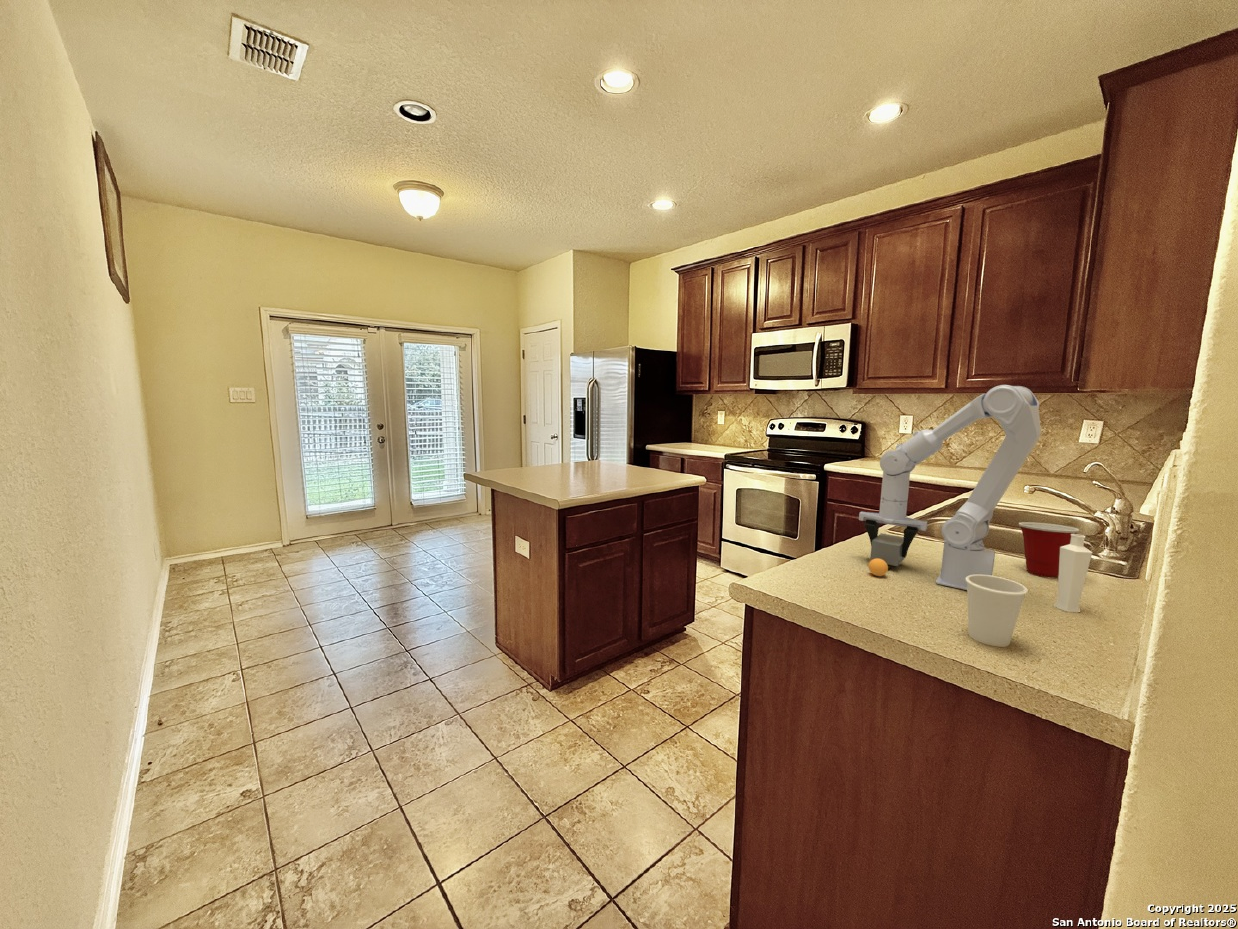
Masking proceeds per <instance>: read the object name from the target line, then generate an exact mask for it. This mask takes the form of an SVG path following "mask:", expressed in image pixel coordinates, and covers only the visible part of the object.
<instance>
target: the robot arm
mask: <svg viewBox="0 0 1238 929" xmlns="http://www.w3.org/2000/svg"><path fill="white" fill-rule="evenodd" d="M1039 410H1040V402H1039V400H1038V399H1037V397H1036V396H1035V395H1034V393H1033V391H1031V389H1029V388H1028V387H1025V386H1021V385H1009V384H1000V385H997V386H994V387H992V388H990V389H989V390H988V391H987V392H986V393H982V394H981V395H978V396H976V397H975V398H974V399H973V400H971V401H969V403H967V404H966V405H964V406H963V407H961V408H960V409H959V410H957V411H956V412H955V413H953V414H952V415H951V416H949V417H948V418H946V419H945V420H944V421H943V422H941V423H939V425H938V426H936V427H935V428H934V429H922V430H915V431H914V432H913V433H912V435H913V436H912V437H910V438H909V439H907V440H906V441H904V442H903V443H898V444H897V445H896V446H895V448H896V449H895V450H893V449H891V450H888V451H885V452H884V454H883V455H881V457H880V459H879V467H880V469H881V470H882V471H883V472H882V481H881V492H880V503H879V512H869V511H867V512H866V511H860V512H859V514H858V520H859V521H862V522H863V521H865V523H864V529H865V530H866V533H867V534H868V538H869V542H870V547H871V546H872V540H874V539H875V538H876V537H877V536H878V535H879V529H880V525H881V524H884V525H892V526H897V527H903V528H904V529H903V537H904V541H903V549H902V557H907V556H908V553H909V552H908V551H909V548H910V546H911V544H912V542H913V540H914V539H915V537H916V535H917V534H918V532H919V531H924V532H926V531H927V529H928V528H927V527H928V521H927V520H921V519H916V518H911V517H908V516H907V511H908V510H907V509H908V499H909V489H910V480H911V479H910V478H911V472H912V471H913V470H915V468H916V465H919V464H920V463H922V462H924V461H925V460H926V459H928V458H930V457H931V456H932V455H935V454H936V453H937V452H939V451H941V450H942V448H943V444H944V441H946V439H948V438H950V437H952V436H954V435H955V434H957V433H959V431H962V430H963V429H965V428H967V427H968V426H970V425H972V424H973V423H975V422H977V421H979V420H984V419H990V418H994V419H995V420H996V421H997V422H998V423H999V425H1000V427H1001V428H1002V431H1003V433H1004V434H1005V438H1004V439H1003V441H1002V442H1001V444H1000V446H999V447H998V449H997V450H996V452H995V454H994V456H993V457H992V458H991V461H990V462H989V464H988V466H987V467H986V468H985V470H984V472H983V474H982V475H981V477H980V479H979V480H978V482H977V483H976V485H975V486H974V489H973V490H972V491H971V493H970V495H969V497H968V498H967V500H966V501H965V503H964V504H963V505H961V507H960V508H959V509H957V511H956V512H955V514H954V515H953V517H951V518H949V519H947V520H946V521H945V522H944V523H943V524H942V526H941V535H942V537H943V539H944V540H943V541H944V542H943V548H942V557H941V558H942V559H941V560H942V561H941V567H940V569H941V570H940V573H939V575H938V577H937V579H936V580H935V583H936V584H937V585H942V586H944V587H945V586H946V587H951V588H955V589H960V590H964V591H967V581H966V577H967V576H969V575H976V574H980V575H991V576H993V572H994V565H995V557H996V556H995V555H996V551H995V550H992V549H987V548H986V547H985V544H984V542H983V539H985V538H986V537H987V536H988V534H989V532H990V523H991V520H992V519H993V516H994V510H995V509H996V507H997V505H998V504H999V502H1000V501H1001V499H1002V497H1003V496H1004V494H1005V493H1006V491H1007V489H1008V488H1009V487H1010V485H1011V484H1012V482H1013V480H1014V479H1015V477H1016V476H1017V474H1018V473H1019V471H1020V470H1021V468H1022V467H1023V465H1024V463H1025V462H1026V460H1027V459H1028V457H1029V456H1030V454H1031V452H1032V451H1033V450H1034V448H1035V446H1036V445H1037V443H1038V441H1039V440H1040V439H1041V436H1042V427H1041V426H1042V425H1041V420H1040V412H1039Z"/></svg>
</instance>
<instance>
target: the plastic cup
mask: <svg viewBox="0 0 1238 929" xmlns="http://www.w3.org/2000/svg"><path fill="white" fill-rule="evenodd" d="M1018 526H1019V527H1020V529H1021V532H1022V537H1023V538H1022V539H1023V547H1024V548H1023V549H1024V558H1025V568H1026V572H1027V571H1028V572H1027V573H1029V574H1031V575H1034V576H1037V577H1042V578H1048V577H1056V578H1059V559H1060V547H1062V546H1065V545H1068V544H1070V542H1071V534H1078V533H1079V532H1080V528H1077V527H1074V526H1068V525H1061V524H1054V523H1045V522H1032V521H1031V522H1030V521H1028V522H1027V521H1026V522H1025V521H1021V522H1018Z"/></svg>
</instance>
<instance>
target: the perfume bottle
mask: <svg viewBox="0 0 1238 929" xmlns="http://www.w3.org/2000/svg"><path fill="white" fill-rule="evenodd" d="M1085 538H1086V535H1084V534H1078V533H1077V534H1071V542H1070V544H1068V545H1065V546H1062V547H1060V559H1059V575H1058V579H1057V580H1058V584H1057V600H1056V601H1055V603H1054V605H1053V607H1054V608H1056V607H1057V608H1056V609H1059V610H1062V611H1063V612H1066V611H1067V612H1068V613H1078V612H1080V613H1081V610H1080V602H1081V597H1082V593H1083V590H1084V587H1085V582H1086V579H1087V575H1088V571H1089V567H1090V564H1091V559H1092V556H1093V551H1091V550H1089V549H1088V547H1087V548H1086V547H1085V546H1084V544H1085ZM1067 612H1066V613H1067Z"/></svg>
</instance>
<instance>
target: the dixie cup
mask: <svg viewBox="0 0 1238 929" xmlns="http://www.w3.org/2000/svg"><path fill="white" fill-rule="evenodd" d="M966 581H967V590H966V591H967V595H966V596H967V618H968V619H967V620H968V623H967V624H968V635H969V637H970V638H972V639H973V640H974V641H976V642H979V643H981V644H984V645H988V646H993V647H999V648H1001V647H1002V648H1003V647H1004V648H1005V647H1008V646H1010V643H1011V641H1012V638H1013V634H1014V630H1015V628H1016V624H1017V621H1018V618H1019V615H1020V611H1021V609H1022V606H1023V602H1024V598H1025V595H1026V594H1027V593H1028V591H1029V590H1028V588H1027V587H1026V586H1024V584H1021V583H1020V582H1017V581H1014V580H1012V579H1008V578H1004V577H1000V576H996V575H992V576H991V575H980V574H976V575H969V576H967V577H966Z"/></svg>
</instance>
